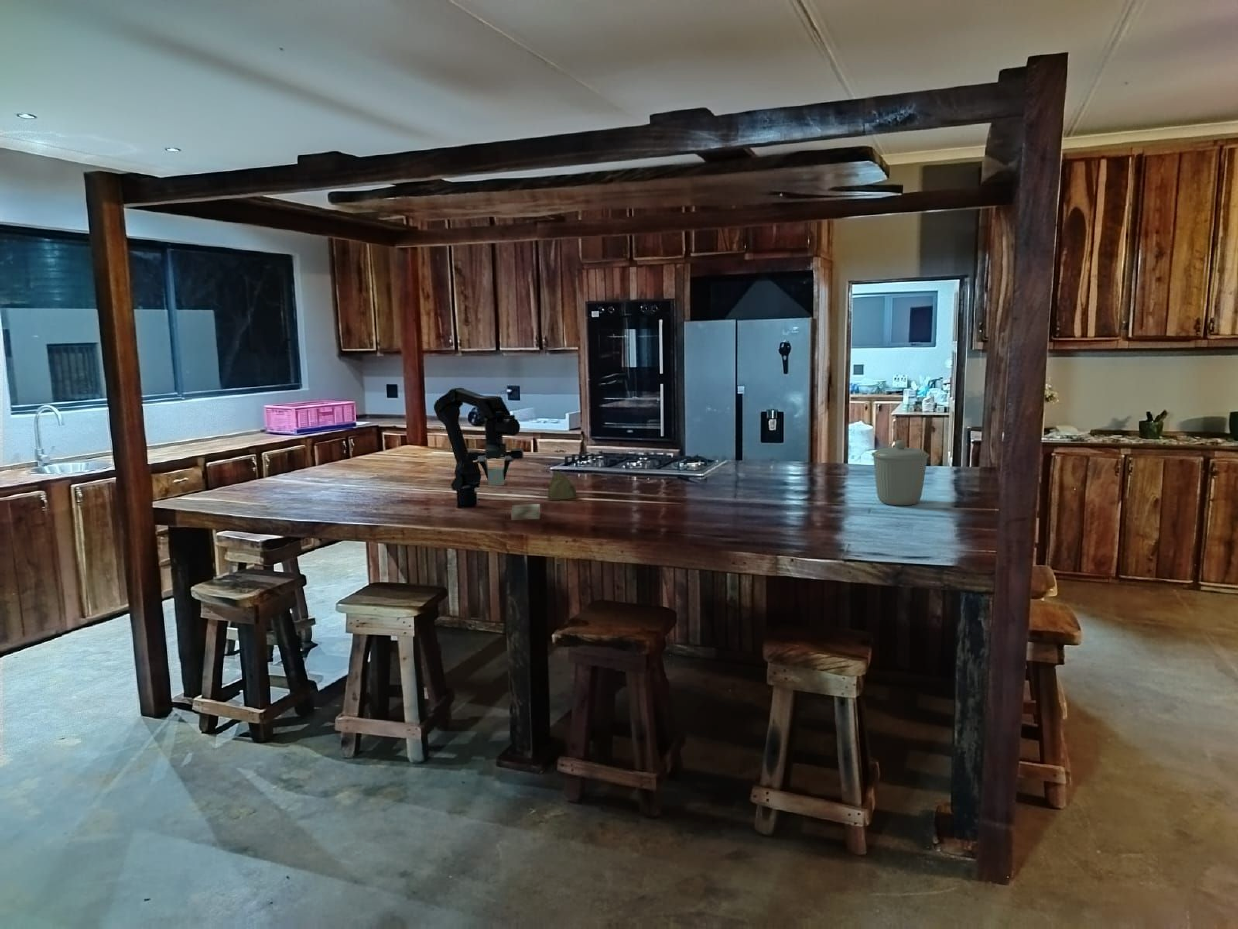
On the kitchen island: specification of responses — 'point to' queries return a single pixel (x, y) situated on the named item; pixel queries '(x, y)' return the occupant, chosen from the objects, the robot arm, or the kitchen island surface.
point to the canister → (899, 474)
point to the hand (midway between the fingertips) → (496, 480)
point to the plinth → (525, 512)
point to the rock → (561, 488)
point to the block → (496, 476)
